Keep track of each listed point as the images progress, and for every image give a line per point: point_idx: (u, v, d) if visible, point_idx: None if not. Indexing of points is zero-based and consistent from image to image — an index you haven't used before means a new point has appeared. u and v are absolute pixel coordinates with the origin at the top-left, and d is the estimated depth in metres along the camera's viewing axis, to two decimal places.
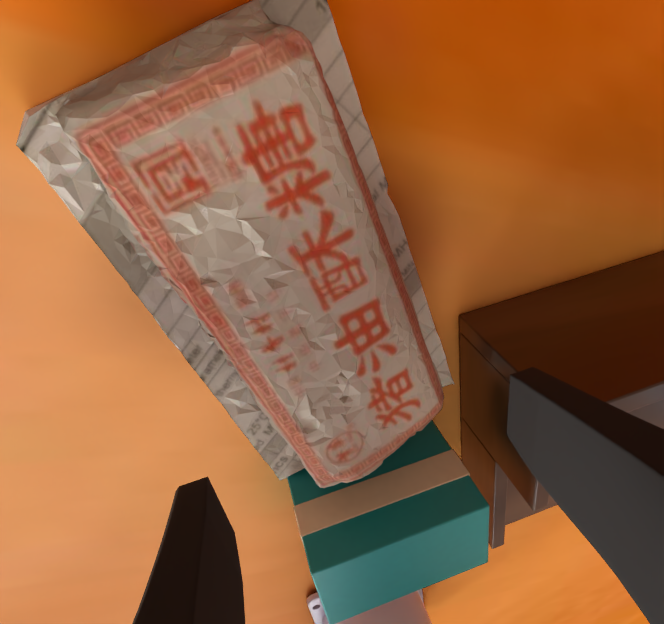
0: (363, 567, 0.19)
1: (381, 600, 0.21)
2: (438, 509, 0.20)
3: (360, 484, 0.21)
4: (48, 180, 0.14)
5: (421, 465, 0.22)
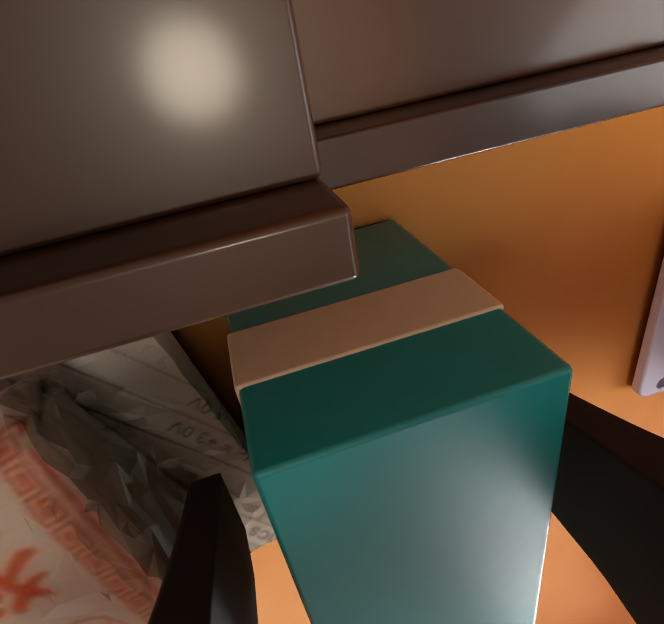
0: None
1: (523, 585, 0.09)
2: None
3: None
4: None
5: None
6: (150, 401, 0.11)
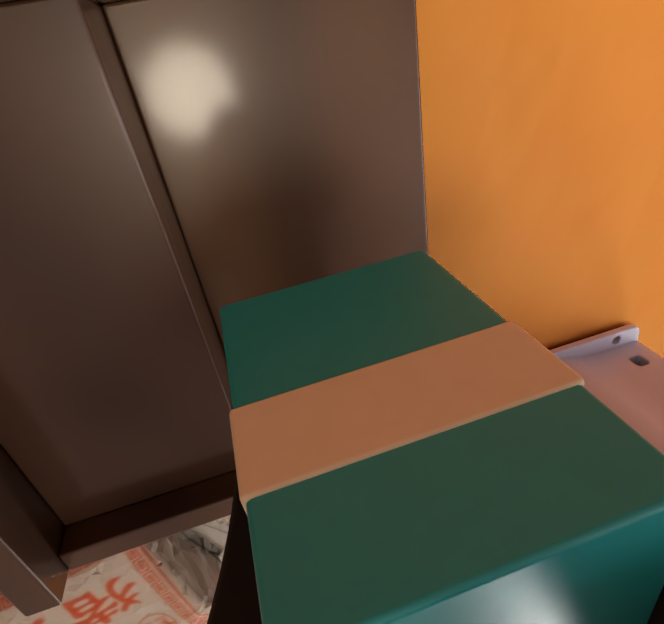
0: None
1: None
2: None
3: None
4: None
5: None
6: None
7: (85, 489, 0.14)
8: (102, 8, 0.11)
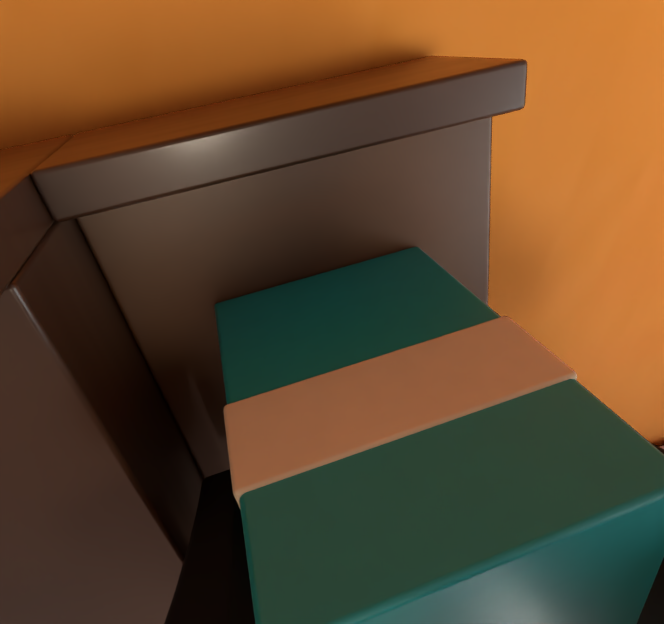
0: None
1: None
2: None
3: None
4: None
5: None
6: None
7: None
8: None
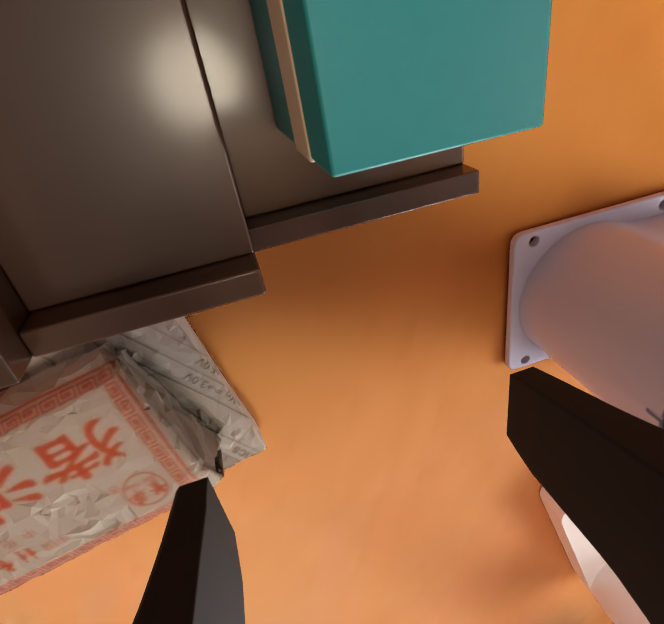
0: (361, 41, 0.08)
1: None
2: None
3: None
4: None
5: None
6: (173, 360, 0.18)
7: (51, 258, 0.11)
8: None
